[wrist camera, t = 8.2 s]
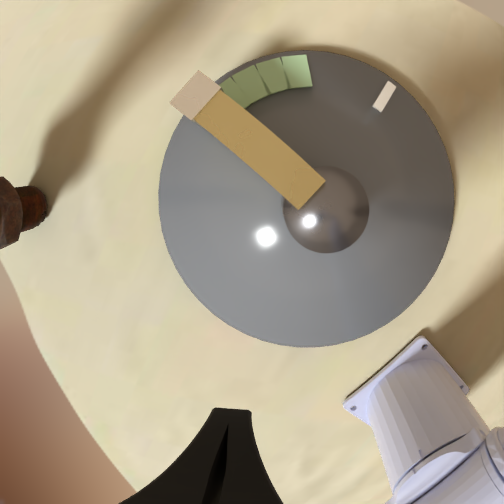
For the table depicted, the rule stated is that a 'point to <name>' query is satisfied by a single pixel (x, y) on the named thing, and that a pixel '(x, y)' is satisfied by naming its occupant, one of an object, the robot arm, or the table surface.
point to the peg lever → (282, 170)
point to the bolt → (19, 210)
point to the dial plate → (269, 199)
